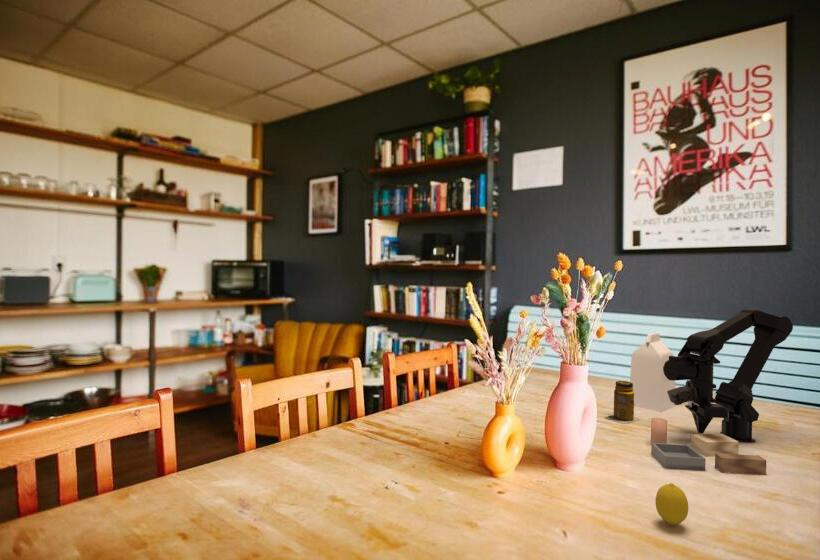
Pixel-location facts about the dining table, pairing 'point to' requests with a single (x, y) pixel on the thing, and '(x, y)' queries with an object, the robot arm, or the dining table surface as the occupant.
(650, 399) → the milk
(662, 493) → the lemon
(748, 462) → the block
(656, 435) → the dowel
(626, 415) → the condiment
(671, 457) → the tray
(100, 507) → the dining table surface
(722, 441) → the light wood rectangular prism
